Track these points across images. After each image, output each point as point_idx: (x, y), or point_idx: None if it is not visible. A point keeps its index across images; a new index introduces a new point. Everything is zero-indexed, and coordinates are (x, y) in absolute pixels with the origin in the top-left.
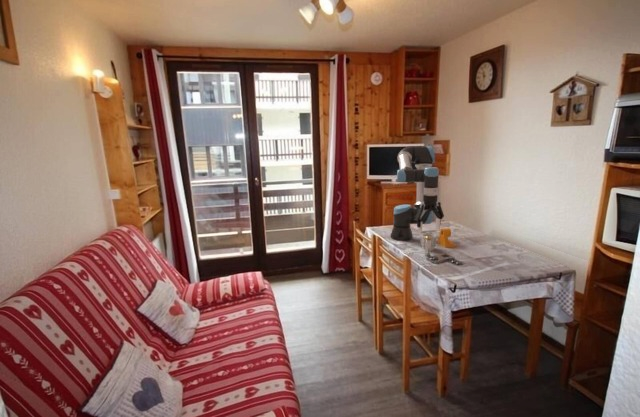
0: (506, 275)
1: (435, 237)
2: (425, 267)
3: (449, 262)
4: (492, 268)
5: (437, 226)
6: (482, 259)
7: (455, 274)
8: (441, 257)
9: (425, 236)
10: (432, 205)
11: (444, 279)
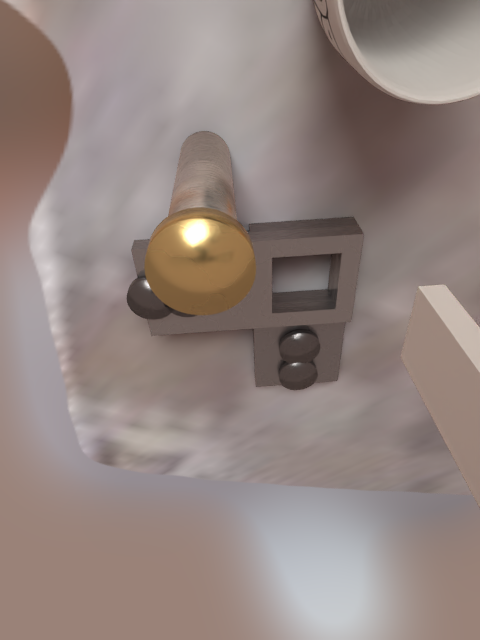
0: (381, 480)
1: (469, 97)
2: (68, 308)
3: (259, 340)
4: (413, 430)
5: (432, 370)
6: None
7: (184, 422)
8: (250, 294)
9: (161, 246)
10: None
11: (90, 439)
